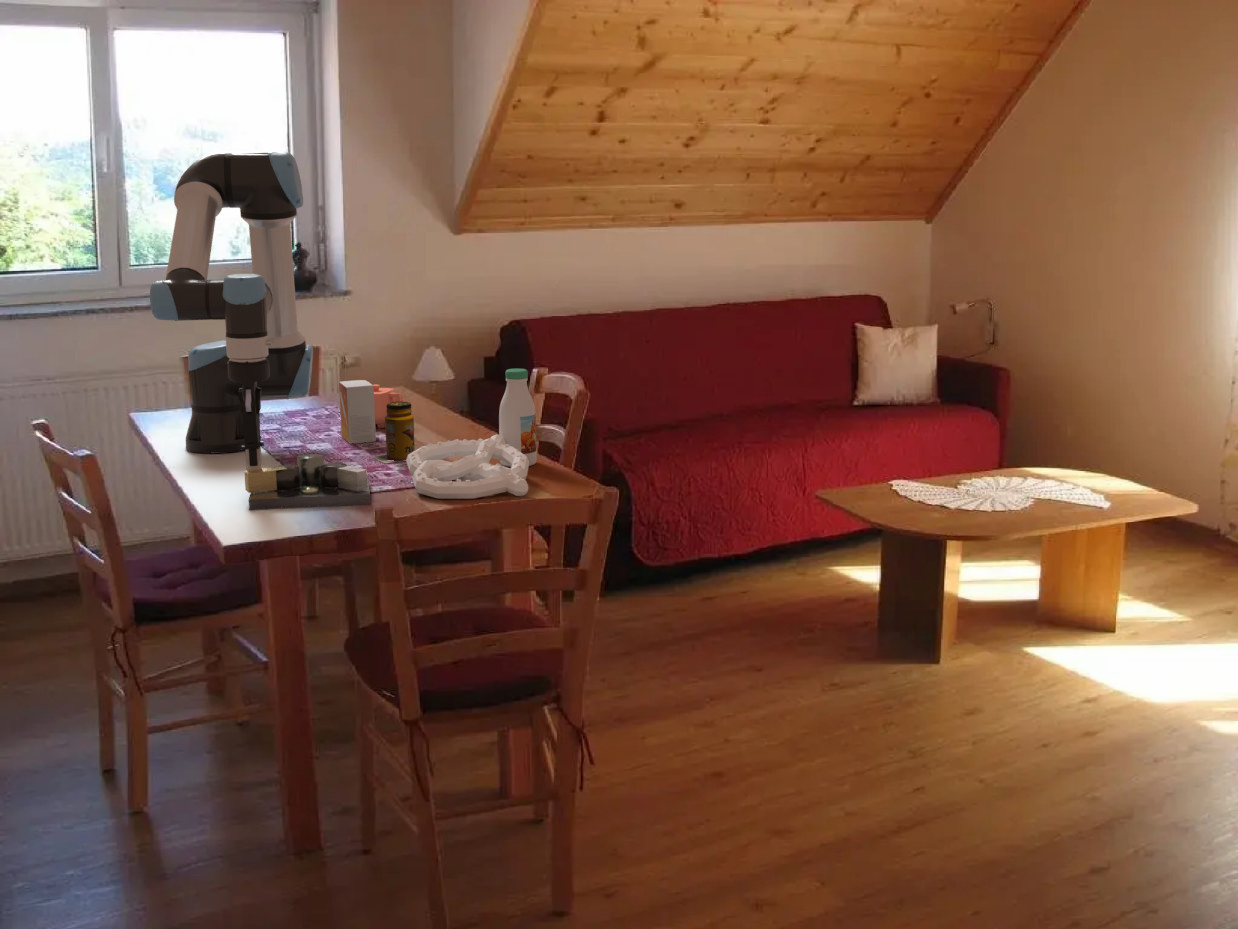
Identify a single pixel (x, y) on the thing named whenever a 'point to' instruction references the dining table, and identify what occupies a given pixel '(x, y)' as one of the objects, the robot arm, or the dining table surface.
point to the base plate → (308, 490)
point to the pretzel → (468, 469)
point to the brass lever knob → (272, 478)
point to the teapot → (383, 403)
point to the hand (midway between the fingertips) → (254, 481)
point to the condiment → (398, 432)
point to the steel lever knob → (343, 476)
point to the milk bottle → (518, 415)
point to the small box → (357, 411)
